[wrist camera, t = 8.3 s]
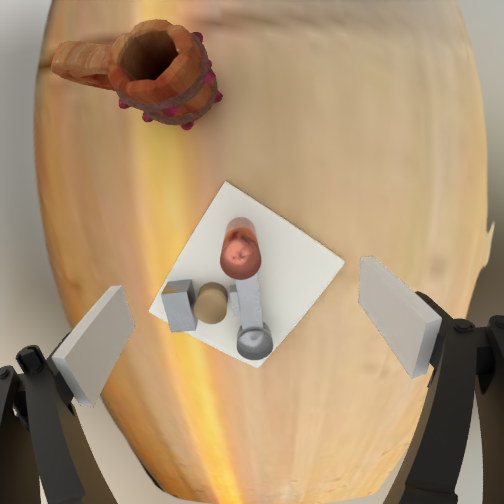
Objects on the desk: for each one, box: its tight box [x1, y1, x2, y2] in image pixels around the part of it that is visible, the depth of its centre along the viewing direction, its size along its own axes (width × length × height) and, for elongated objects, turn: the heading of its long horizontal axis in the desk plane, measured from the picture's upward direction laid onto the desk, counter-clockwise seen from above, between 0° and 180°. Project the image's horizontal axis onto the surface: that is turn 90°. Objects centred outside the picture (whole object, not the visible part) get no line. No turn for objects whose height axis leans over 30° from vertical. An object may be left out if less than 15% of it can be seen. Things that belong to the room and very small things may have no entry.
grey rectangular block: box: [161, 279, 199, 332], centre depth 32 cm, size 5×3×4 cm, turn 6°
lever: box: [220, 217, 273, 360], centre depth 28 cm, size 18×4×10 cm, turn 6°
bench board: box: [148, 181, 345, 368], centre depth 34 cm, size 19×17×2 cm
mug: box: [51, 19, 223, 130], centre depth 20 cm, size 15×8×15 cm, turn 74°
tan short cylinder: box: [194, 282, 228, 324], centre depth 32 cm, size 4×4×4 cm
